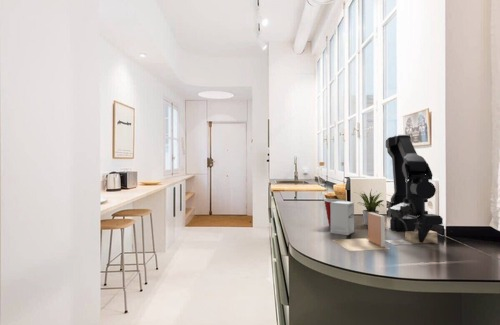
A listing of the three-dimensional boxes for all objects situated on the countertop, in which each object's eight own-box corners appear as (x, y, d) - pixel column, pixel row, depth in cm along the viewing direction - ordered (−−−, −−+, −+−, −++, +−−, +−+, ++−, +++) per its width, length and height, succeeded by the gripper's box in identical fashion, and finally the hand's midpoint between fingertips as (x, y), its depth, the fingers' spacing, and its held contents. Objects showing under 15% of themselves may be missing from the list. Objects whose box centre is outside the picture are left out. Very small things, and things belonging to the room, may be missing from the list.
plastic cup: (348, 230, 128) (348, 201, 128) (322, 228, 132) (322, 200, 132) (349, 225, 138) (349, 198, 138) (324, 223, 142) (324, 197, 142)
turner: (428, 240, 110) (428, 229, 110) (440, 245, 104) (440, 233, 104) (384, 242, 108) (384, 231, 108) (394, 247, 102) (394, 235, 102)
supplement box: (348, 236, 116) (348, 203, 117) (330, 234, 121) (329, 202, 121) (354, 233, 122) (354, 201, 122) (337, 230, 127) (336, 200, 127)
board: (368, 239, 111) (368, 238, 111) (390, 250, 98) (390, 249, 98) (331, 241, 110) (331, 239, 110) (349, 252, 96) (349, 250, 96)
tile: (372, 240, 108) (371, 212, 108) (384, 246, 100) (384, 216, 100) (367, 240, 108) (367, 212, 108) (380, 246, 100) (380, 216, 100)
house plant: (352, 226, 134) (351, 189, 134) (351, 221, 148) (350, 187, 148) (387, 228, 130) (386, 190, 130) (383, 222, 144) (382, 187, 144)
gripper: (379, 193, 114) (379, 235, 114) (411, 199, 96) (412, 248, 96) (406, 193, 116) (406, 233, 116) (443, 198, 97) (444, 247, 97)
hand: (415, 240), depth 106 cm, fingers open, 5 cm apart
